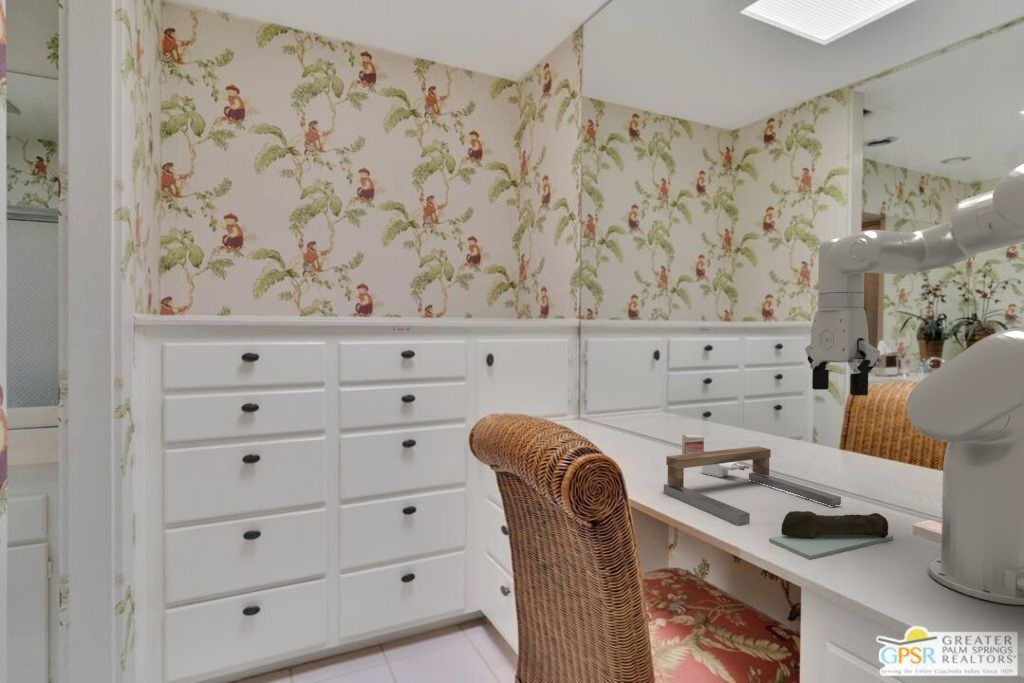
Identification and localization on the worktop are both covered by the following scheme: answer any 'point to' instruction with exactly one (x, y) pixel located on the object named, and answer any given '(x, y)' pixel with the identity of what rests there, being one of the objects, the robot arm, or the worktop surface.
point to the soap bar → (928, 530)
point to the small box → (692, 443)
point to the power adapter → (722, 468)
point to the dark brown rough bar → (832, 524)
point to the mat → (826, 543)
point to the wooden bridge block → (716, 461)
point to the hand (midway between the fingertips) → (838, 392)
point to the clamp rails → (739, 515)
